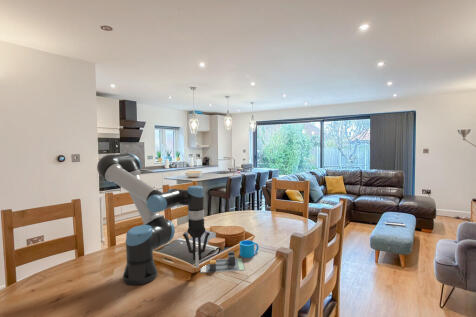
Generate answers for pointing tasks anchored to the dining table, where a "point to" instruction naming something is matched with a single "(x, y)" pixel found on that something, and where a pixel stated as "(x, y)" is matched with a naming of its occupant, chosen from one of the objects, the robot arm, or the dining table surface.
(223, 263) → the panel
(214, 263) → the breaker
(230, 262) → the breaker
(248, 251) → the mug
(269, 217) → the dining table surface
